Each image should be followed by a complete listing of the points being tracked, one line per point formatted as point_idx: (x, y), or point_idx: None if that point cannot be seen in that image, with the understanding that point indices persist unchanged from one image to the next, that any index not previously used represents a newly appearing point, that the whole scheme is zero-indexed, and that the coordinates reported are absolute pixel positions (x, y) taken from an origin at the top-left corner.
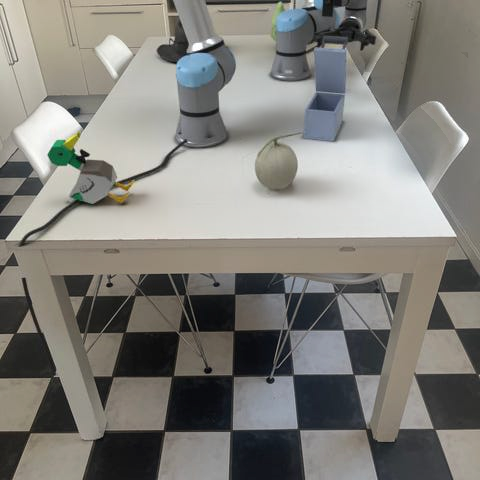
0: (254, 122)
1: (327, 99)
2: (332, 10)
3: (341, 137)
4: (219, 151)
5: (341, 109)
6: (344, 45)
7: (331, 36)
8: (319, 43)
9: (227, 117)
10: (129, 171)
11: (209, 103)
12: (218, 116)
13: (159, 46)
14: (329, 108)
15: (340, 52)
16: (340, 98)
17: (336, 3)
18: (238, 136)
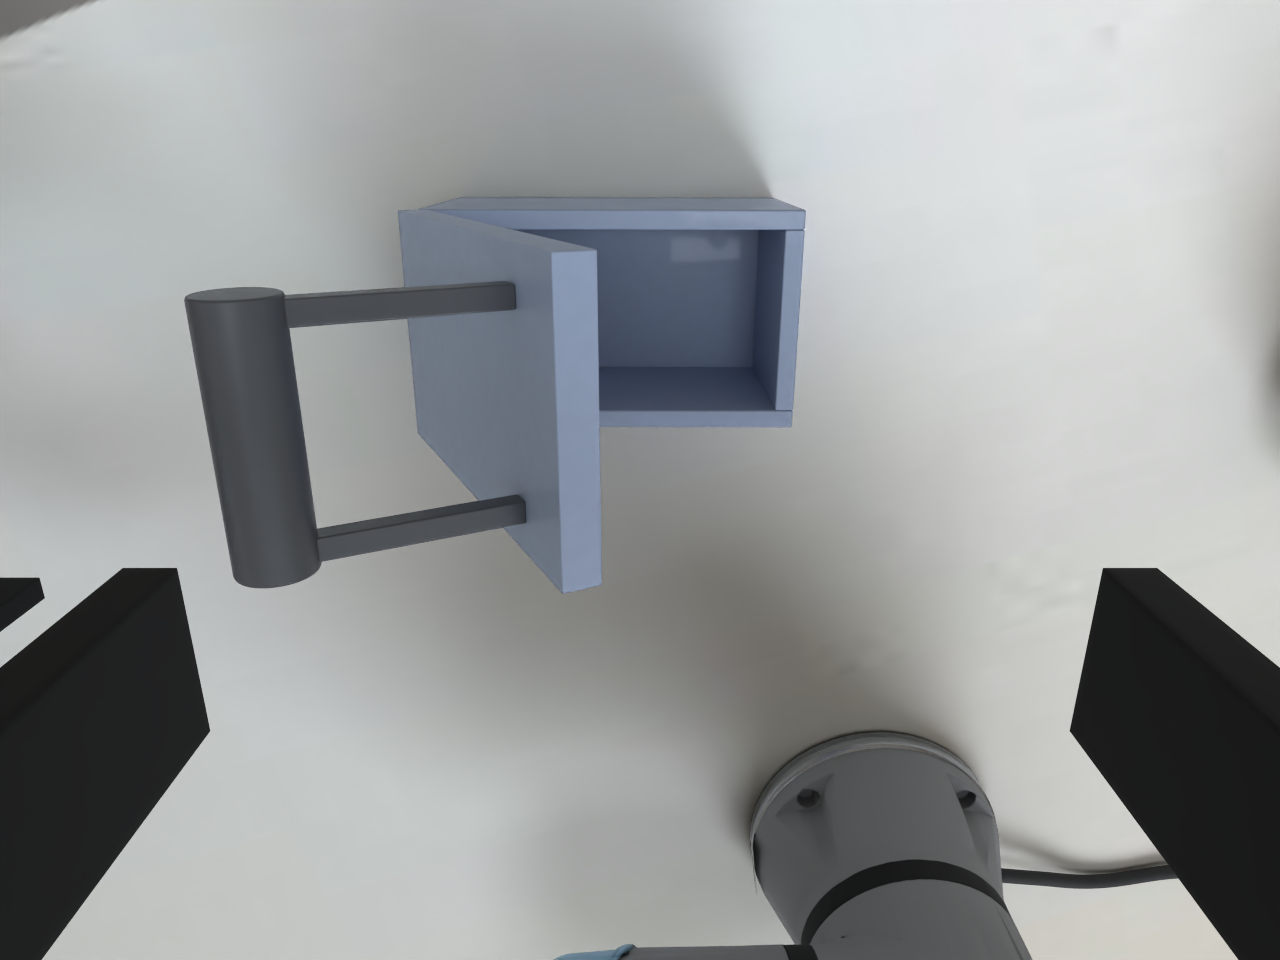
0: (623, 668)
1: None
2: (1227, 629)
3: (701, 160)
4: (1003, 714)
5: (548, 204)
6: (343, 307)
7: (258, 498)
8: (13, 598)
9: (599, 800)
10: None
11: (1004, 932)
12: (911, 839)
13: None
14: None
15: (596, 308)
16: None
17: (167, 679)
18: (818, 688)
